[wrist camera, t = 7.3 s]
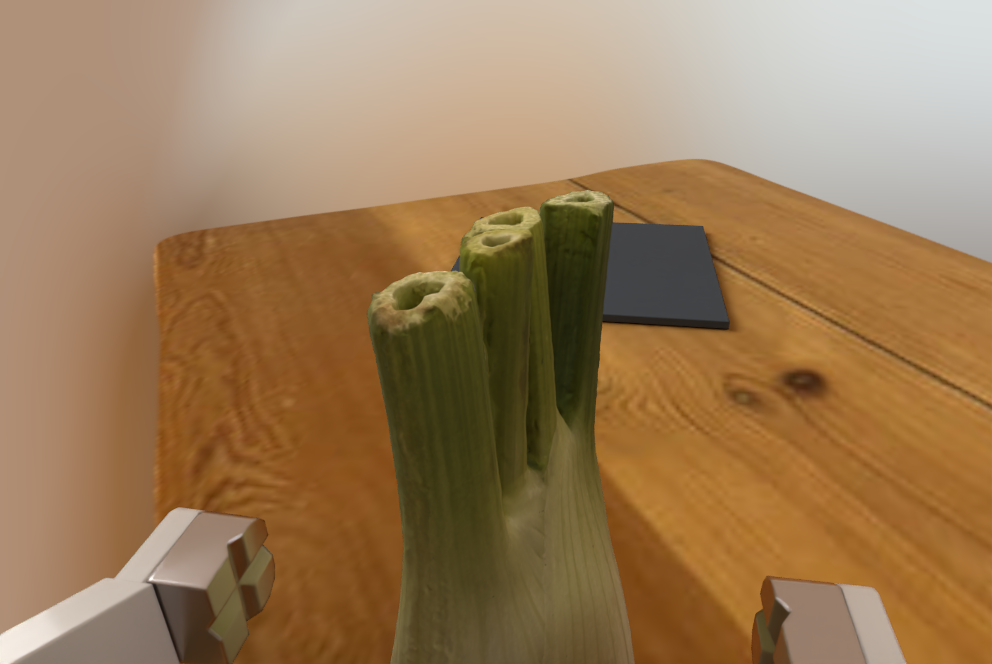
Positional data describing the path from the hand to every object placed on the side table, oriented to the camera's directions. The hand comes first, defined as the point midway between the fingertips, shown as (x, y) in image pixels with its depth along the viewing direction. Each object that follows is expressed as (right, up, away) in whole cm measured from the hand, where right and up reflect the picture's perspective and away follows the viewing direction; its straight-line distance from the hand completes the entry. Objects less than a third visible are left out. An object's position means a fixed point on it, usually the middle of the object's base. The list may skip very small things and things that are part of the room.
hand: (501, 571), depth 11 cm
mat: (+5, +7, +27) cm, 29 cm away
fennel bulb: (0, -5, +4) cm, 7 cm away
